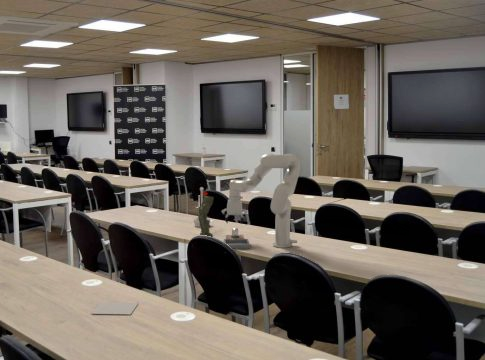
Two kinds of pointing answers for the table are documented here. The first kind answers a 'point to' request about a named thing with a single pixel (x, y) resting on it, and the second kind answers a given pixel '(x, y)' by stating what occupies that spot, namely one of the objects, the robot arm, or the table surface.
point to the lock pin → (234, 232)
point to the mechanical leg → (205, 215)
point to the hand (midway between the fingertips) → (234, 223)
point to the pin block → (235, 238)
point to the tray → (238, 243)
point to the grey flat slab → (115, 308)
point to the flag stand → (201, 204)
